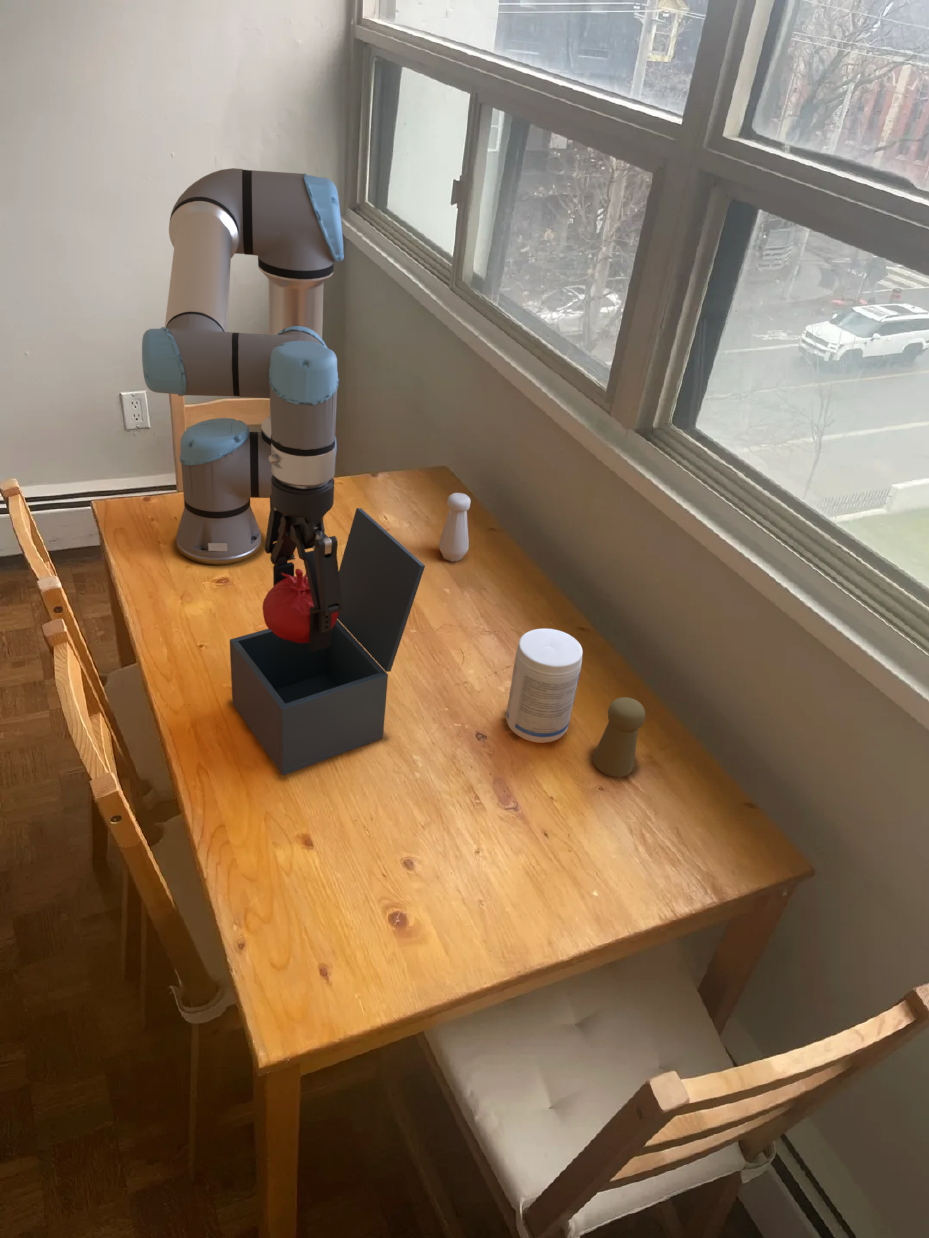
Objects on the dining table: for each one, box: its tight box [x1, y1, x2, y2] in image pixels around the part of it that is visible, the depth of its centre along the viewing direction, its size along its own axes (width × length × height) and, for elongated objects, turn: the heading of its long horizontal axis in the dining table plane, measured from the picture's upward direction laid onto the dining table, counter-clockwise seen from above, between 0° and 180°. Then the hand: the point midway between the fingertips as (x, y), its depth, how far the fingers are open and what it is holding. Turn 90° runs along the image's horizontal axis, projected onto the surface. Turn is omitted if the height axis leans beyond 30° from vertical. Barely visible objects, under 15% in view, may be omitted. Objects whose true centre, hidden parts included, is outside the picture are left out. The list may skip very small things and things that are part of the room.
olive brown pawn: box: [592, 696, 646, 778], centre depth 129 cm, size 6×6×11 cm
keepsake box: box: [229, 619, 389, 777], centre depth 128 cm, size 16×17×12 cm
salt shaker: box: [438, 492, 472, 563], centre depth 171 cm, size 6×6×13 cm
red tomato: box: [262, 568, 339, 643], centre depth 119 cm, size 10×10×9 cm
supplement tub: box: [505, 628, 584, 744], centre depth 133 cm, size 10×10×15 cm
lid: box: [337, 507, 426, 673], centre depth 125 cm, size 17×17×1 cm
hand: (301, 625), depth 121 cm, fingers closed on red tomato, 10 cm apart
